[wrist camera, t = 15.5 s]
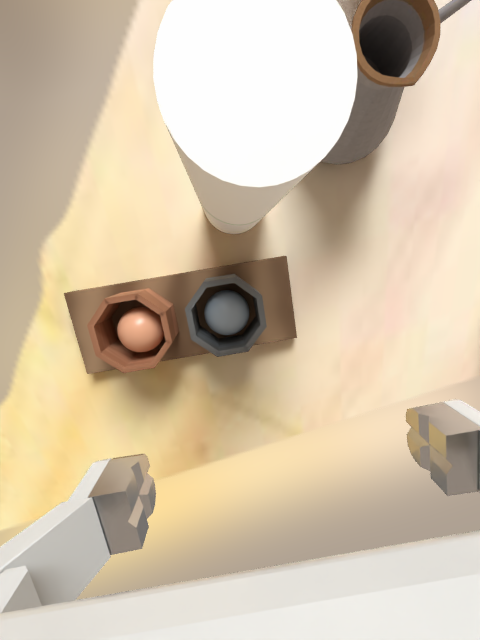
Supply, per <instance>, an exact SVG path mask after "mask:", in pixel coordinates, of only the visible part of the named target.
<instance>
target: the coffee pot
mask: <svg viewBox="0 0 480 640" xmlns="http://www.w3.org/2000/svg"><path fill="white" fill-rule="evenodd" d="M470 1H471V0H452V1H451V2H449V3H448V4H446V5H445V6H443V7H442V8H441V9H439V10H438V7H437V5H436V3H435V1H434V0H362V1H361V3H360V4H359V6H358V8H357V10H356V13H355V15H354V17H353V22H352V26H351V27H350V29H351V32H352V34H353V39H354V44H355V49H356V54H357V85H356V93H355V100H354V103H353V106H352V110H351V113H350V116H349V120H348V122H347V124H346V126H345V128H344V130H343V132H342V134H341V135H340V137H339V139H338V141H337V142H336V143H335V145H334V146H333V147H332V149H331V150H330V151H329V152H328V154H327V155H326V156H325V157H324V158H323V159H322V160H321V161H322V162H326V163H332V164H344V163H351V162H354V161H356V160H359V159H361V158H363V157H365V156H367V155H368V154H369V153H371V152H372V151H373V150H374V149H376V148H377V147H378V145H379V144H380V143H381V142H382V140H383V139H384V138H385V137H386V135H387V134H388V132H389V129H390V127H391V125H392V123H393V121H394V118H395V115H396V112H397V109H398V105H399V102H400V99H401V96H402V92H403V89H404V87H405V86H413V85H414V84H415V83H416V82H417V81H418V79H419V78H420V77H421V76H422V75H423V73H424V71H425V70H426V68H427V67H428V65H429V64H430V62H431V60H432V58H433V56H434V54H435V52H436V49H437V46H438V42H439V38H440V23H442V22H443V21H444V20H446V19H447V18H448V17H450V16H451V15H452V14H454V13H455V12H456V11H458V10H459V9H460V8H462V7H463V6H464V5H466V4H467V3H468V2H470Z"/></svg>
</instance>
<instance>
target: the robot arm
mask: <svg viewBox="0 0 480 640" xmlns="http://www.w3.org/2000/svg"><path fill="white" fill-rule="evenodd" d="M406 422H407V423H408V424H409V425H410V426H411V429H410V430H409V432H408V434H407V442H408V447H409V450H410V452H411V455H412V456H413V458H414V459H415V461H416V462H417V463H418V464H419V466H420V467H422V468H424V469H427V470H429V471H430V472H431V479H432V480H433V481H434V482H435V483H436V484H437V485H438V486H439V487H440V488H441V489H442V490H443V492H444V493H445V494H446V495H447V496H450V495H457V494H463V493H471V492H478V491H480V411H478V410H476V409H475V408H473V407H471V406H470V405H468V404H466V403H465V402H463V401H461V400H457V399H454V400H449V401H444V402H440V403H435V404H431V405H425V406H420V407H415V408H411V409H407V412H406ZM149 466H150V465H149V461H148V458H147V456H146V455H145V454H138V455H132V456H125V457H118V458H113V459H105V460H100V461H96V462H94V463H93V464H92V465H91V467H90V468H89V470H88V471H87V473H86V474H85V476H84V477H83V479H82V480H81V482H80V483H79V485H78V486H77V488H76V489H75V491H74V492H73V494H72V495H71V497H70V498H69V500H68V501H67V502H62V503H60V504H59V505H58V506H56V507H55V508H53V509H52V510H51V511H49V512H48V513H47V514H45V515H44V516H42V517H41V518H40V519H38V520H37V521H35V522H34V523H33V524H31V525H30V526H29V527H27V528H26V529H24V530H23V531H22V532H20V533H19V534H18V535H16V536H15V537H13V538H12V539H11V540H10V541H8V542H6V543H5V544H4V545H2V546H1V547H0V640H480V530H479V531H474V532H467V533H462V534H456V535H451V536H445V537H439V538H433V539H427V540H422V541H416V542H410V543H404V544H399V545H393V546H387V547H381V548H376V549H370V550H364V551H358V552H352V553H347V554H341V555H334V556H329V557H323V558H317V559H312V560H305V561H299V562H293V563H288V564H282V565H276V566H270V567H264V568H259V569H253V570H247V571H241V572H236V573H230V574H225V575H218V576H213V577H207V578H201V579H195V580H190V581H184V582H179V583H172V584H167V585H161V586H155V587H150V588H144V589H138V590H132V591H126V592H121V593H115V594H109V595H103V596H97V597H91V598H86V599H79V600H76V598H77V597H78V596H79V595H80V594H81V592H82V591H83V590H84V589H85V587H86V586H87V585H88V584H89V583H90V581H91V580H92V579H93V578H94V577H95V575H96V574H97V573H98V572H99V570H100V569H101V568H102V567H103V566H104V564H105V563H106V562H107V561H108V559H109V558H110V555H112V554H118V553H123V552H127V551H133V550H137V549H142V546H143V543H144V540H145V537H146V533H147V530H148V522H147V518H148V517H149V516H150V515H151V514H152V513H153V510H154V506H155V497H156V492H155V484H154V480H153V478H152V477H151V476H150V475H149V474H147V472H148V469H149Z"/></svg>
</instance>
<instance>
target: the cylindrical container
mask: <svg viewBox="0 0 480 640" xmlns="http://www.w3.org/2000/svg"><path fill="white" fill-rule="evenodd" d="M154 85H155V91H156V97H157V102H158V105H159V108H160V111H161V113H162V116H163V119H164V122H165V124H166V126H167V129H168V131H169V133H170V135H171V138H172V140H173V142H174V144H175V147H176V149H177V151H178V153H179V156H180V158H181V160H182V163H183V165H184V167H185V169H186V172H187V174H188V176H189V178H190V181H191V183H192V185H193V187H194V190H195V192H196V194H197V196H198V199H199V201H200V203H201V206H202V208H203V210H204V212H205V215H206V217H207V218H208V220H209V221H210V223H211V224H212V225H213V226H214V227H215V228H217V229H218V230H220V231H222V232H225V233H228V234H240V233H243V232H246V231H248V230H250V229H251V228H252V227H253V226H255V225H256V224H257V223H258V222H259V221H260V220H261V219H262V218H263V217H264V216H265V215H266V214H267V213H268V212H269V211H270V210H271V209H272V208H273V207H274V206H275V205H276V204H277V203H278V202H279V201H280V200H281V199H282V198H283V197H284V196H286V195H287V194H288V193H289V192H290V191H291V190H292V189H293V188H294V187H295V186H296V185H297V184H298V183H299V182H300V181H301V180H302V179H303V178H304V177H305V176H306V175H307V174H308V173H309V172H310V171H311V170H312V169H313V168H314V167H315V166H316V165H317V164H318V163H319V162H320V161H321V160H322V159H323V158H324V157H325V156H326V155H327V154H328V152H329V151H330V150H331V149H332V147H333V146H334V145H335V143H336V142H337V141H338V139H339V137H340V135H341V134H342V132H343V130H344V128H345V126H346V124H347V122H348V120H349V116H350V113H351V110H352V106H353V103H354V100H355V93H356V85H357V54H356V49H355V44H354V39H353V34H352V32H351V29H350V26H349V24H348V21H347V18H346V16H345V13H344V11H343V10H342V8H341V7H340V5H339V3H338V2H337V0H172V1H171V3H170V4H169V6H168V7H167V9H166V12H165V14H164V17H163V20H162V22H161V25H160V27H159V30H158V34H157V39H156V45H155V50H154Z"/></svg>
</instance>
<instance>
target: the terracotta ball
mask: <svg viewBox="0 0 480 640" xmlns="http://www.w3.org/2000/svg"><path fill="white" fill-rule="evenodd" d="M117 333H118V337H119V339H120V341H121V343H122V344H123V345H124V346H125V347H126V348H128V349H129V350H132V351H135V352H147V351H150V350H152V349H154V348H155V347H157V346H158V345H159V344H160V342H161V341H162V339H163V337H164V331H163V326H162V322H161V317H160V315H159V314H157V313H156V312H154V311H153V310H151V309H149V308H146V307H137V308H133V309H131V310H129V311H127V312H126V313H125V314H124V315H123V316H122V317H121V319H120V320H119V323H118V327H117Z"/></svg>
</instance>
